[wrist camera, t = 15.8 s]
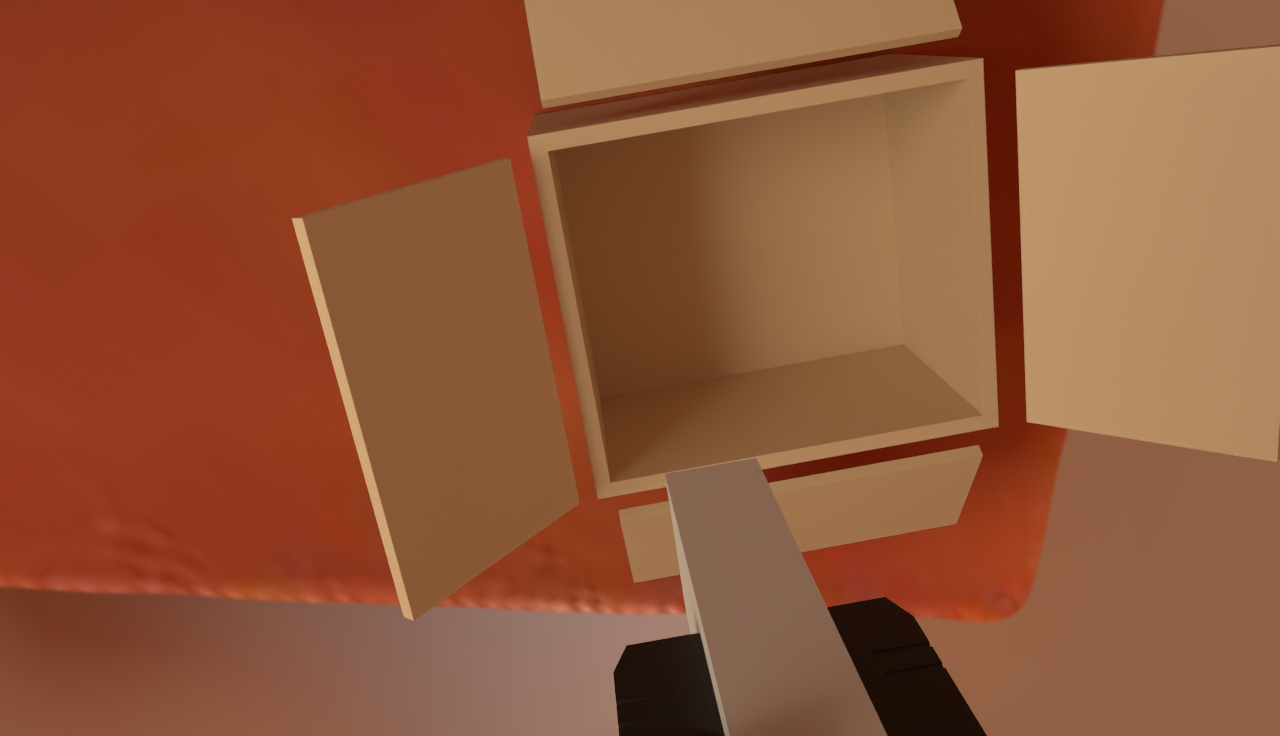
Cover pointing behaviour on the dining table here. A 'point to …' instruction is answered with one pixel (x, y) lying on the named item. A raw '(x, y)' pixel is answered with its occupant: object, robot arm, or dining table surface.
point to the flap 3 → (830, 507)
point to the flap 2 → (710, 39)
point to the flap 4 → (1154, 248)
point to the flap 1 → (442, 373)
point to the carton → (774, 265)
